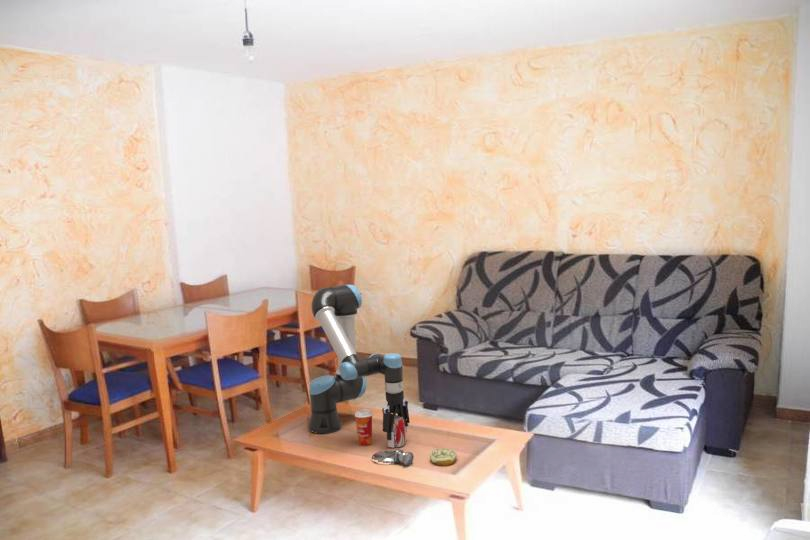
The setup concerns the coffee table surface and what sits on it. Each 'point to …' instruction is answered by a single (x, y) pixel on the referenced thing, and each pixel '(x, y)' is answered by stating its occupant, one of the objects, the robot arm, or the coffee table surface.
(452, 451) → the decorated donut
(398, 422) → the soda can
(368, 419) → the paper cup
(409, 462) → the pipe stub
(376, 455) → the flange
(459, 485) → the coffee table surface
